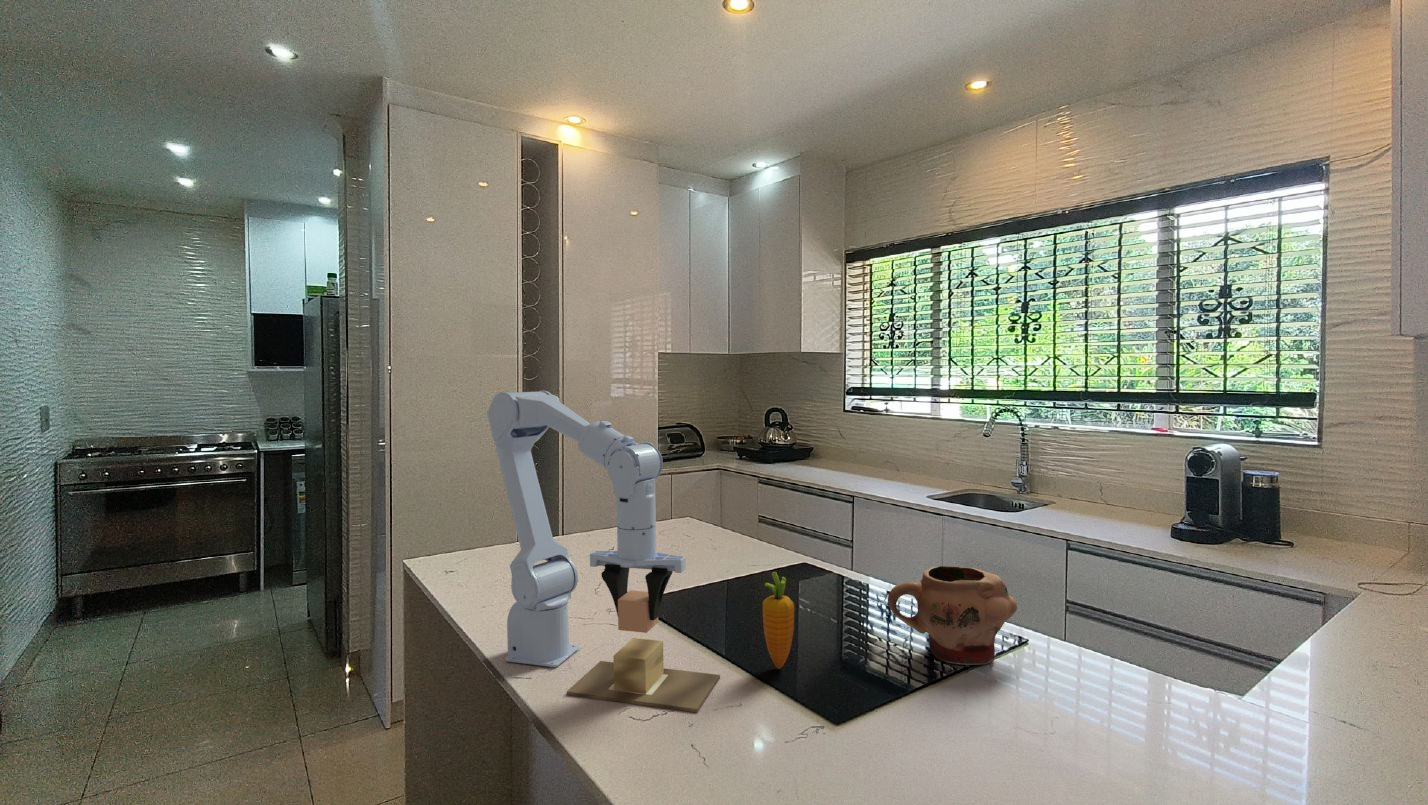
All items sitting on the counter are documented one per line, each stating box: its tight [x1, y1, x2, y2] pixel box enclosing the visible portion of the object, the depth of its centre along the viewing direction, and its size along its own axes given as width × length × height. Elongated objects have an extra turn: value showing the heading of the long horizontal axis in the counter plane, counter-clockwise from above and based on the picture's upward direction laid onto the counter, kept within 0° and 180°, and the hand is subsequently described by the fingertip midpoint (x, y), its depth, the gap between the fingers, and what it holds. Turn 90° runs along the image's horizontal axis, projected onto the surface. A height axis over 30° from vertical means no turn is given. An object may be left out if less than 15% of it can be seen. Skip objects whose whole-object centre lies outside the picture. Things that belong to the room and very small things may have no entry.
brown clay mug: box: [887, 565, 1018, 666], centre depth 111 cm, size 20×12×14 cm, turn 89°
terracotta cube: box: [617, 589, 659, 634], centre depth 102 cm, size 4×4×4 cm
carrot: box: [762, 571, 795, 670], centre depth 107 cm, size 5×5×15 cm
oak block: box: [612, 637, 664, 694], centre depth 102 cm, size 5×7×5 cm
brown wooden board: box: [566, 660, 721, 714], centre depth 102 cm, size 20×11×1 cm, turn 73°
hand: (638, 616), depth 102 cm, fingers closed on terracotta cube, 4 cm apart
